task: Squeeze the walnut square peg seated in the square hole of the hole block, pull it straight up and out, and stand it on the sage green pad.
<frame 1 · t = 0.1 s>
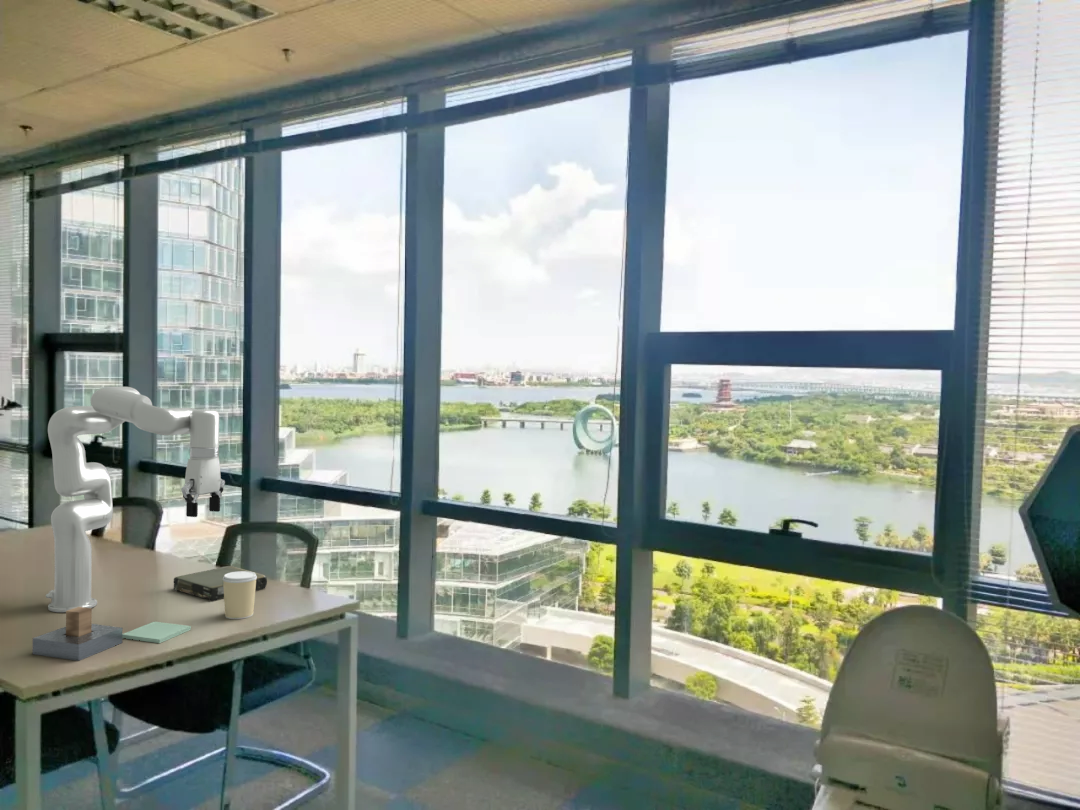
hand: (203, 513, 226), 31 cm above the table, tool pointing down, fingers open, 9 cm apart
green pad: (156, 633, 217), on the table
network switch: (220, 591, 263), on the table
walnut peg: (78, 629, 204), in the hole block
hole block: (78, 648, 204), on the table
coffee cup: (239, 615, 236), on the table
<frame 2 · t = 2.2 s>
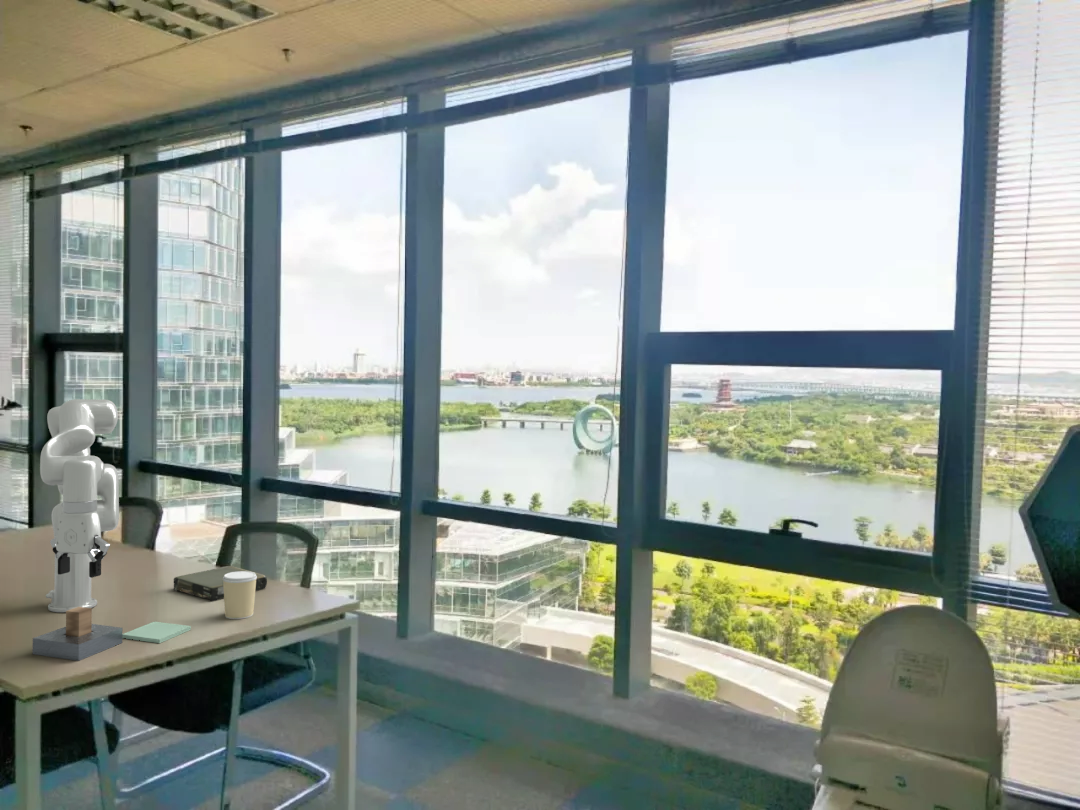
hand: (79, 574, 203), 19 cm above the table, tool pointing down, fingers open, 9 cm apart
nothing on the table moved.
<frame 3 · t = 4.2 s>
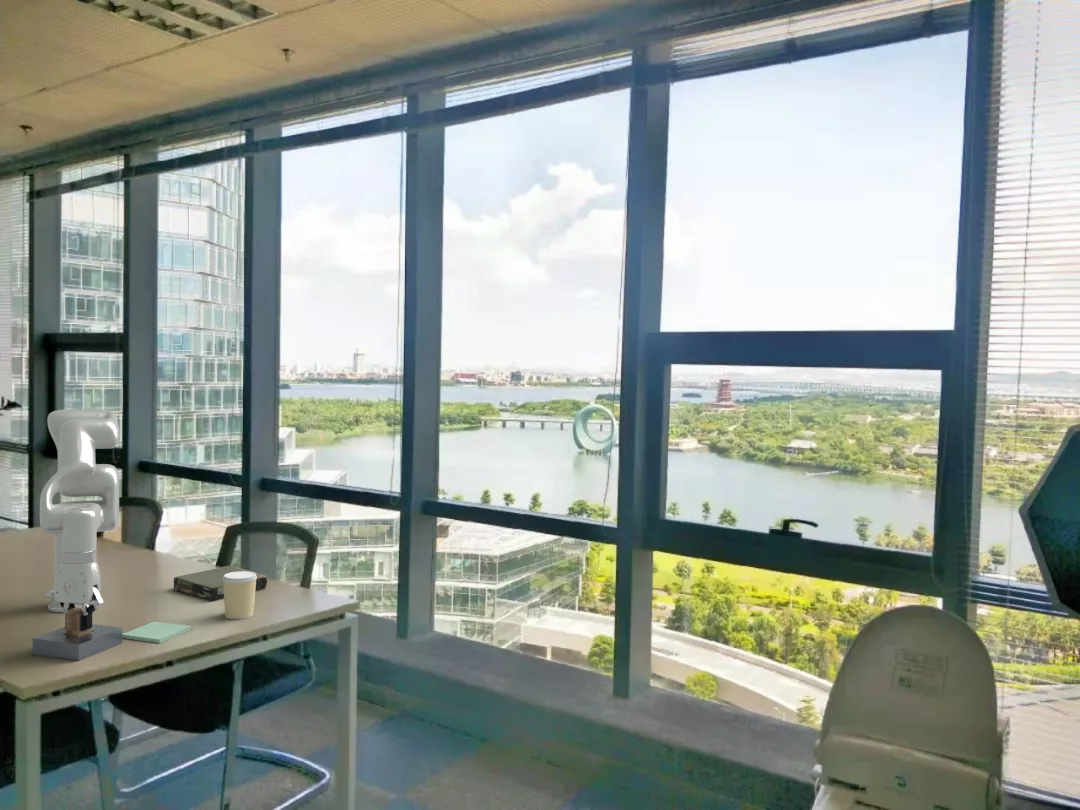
hand: (78, 627, 204), 5 cm above the table, tool pointing down, fingers closed on walnut peg, 4 cm apart
walnut peg: (78, 629, 204), in the hole block, touching gripper
everything else where it was.
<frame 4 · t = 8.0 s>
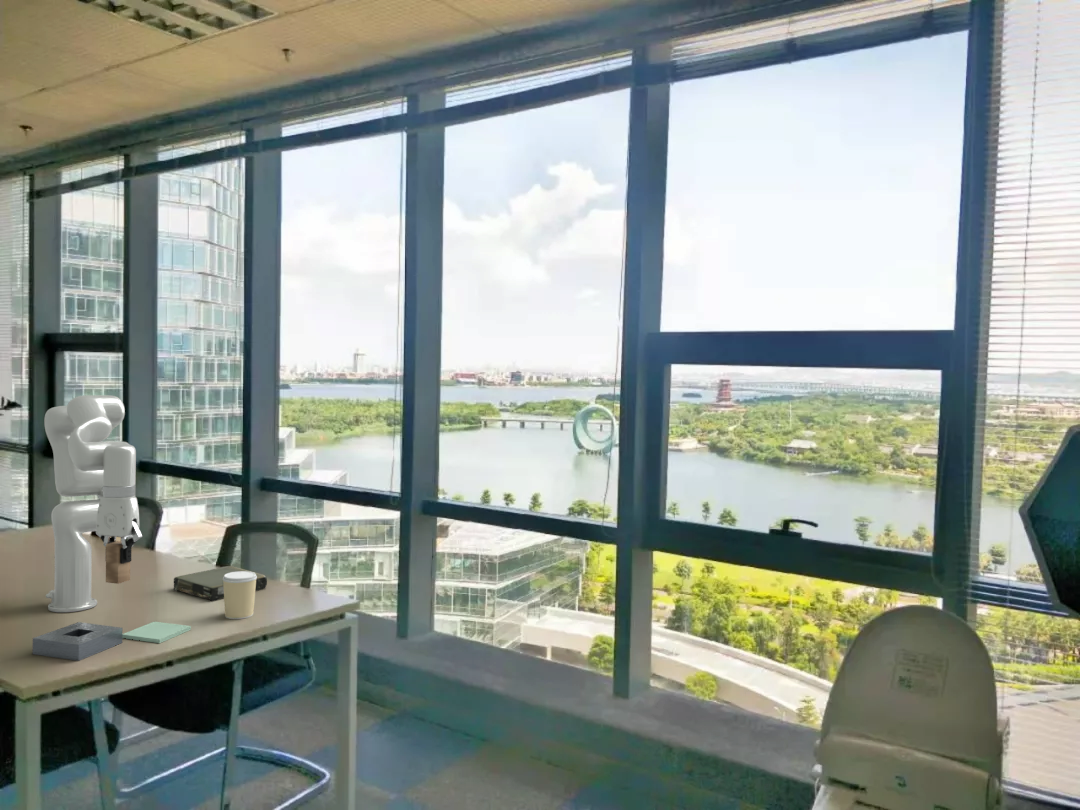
hand: (118, 560, 210), 21 cm above the table, tool pointing down, fingers closed on walnut peg, 4 cm apart
walnut peg: (118, 562, 210), point 21 cm above the table, touching gripper
everything else where it was.
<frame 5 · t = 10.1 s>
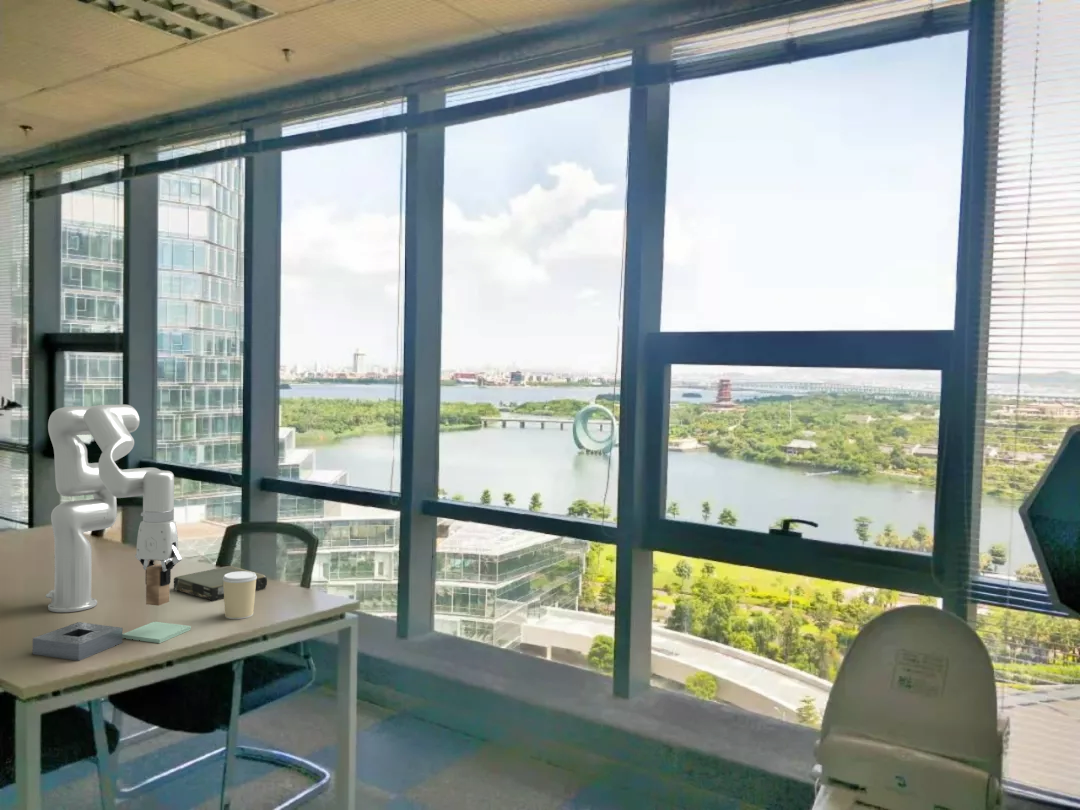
hand: (158, 583, 216), 14 cm above the table, tool pointing down, fingers closed on walnut peg, 4 cm apart
walnut peg: (157, 584, 216), point 14 cm above the table, touching gripper
everything else where it was.
when the fingers open (8 cm above the table, at t = 11.9 s): walnut peg drops 1 cm, resting on green pad.
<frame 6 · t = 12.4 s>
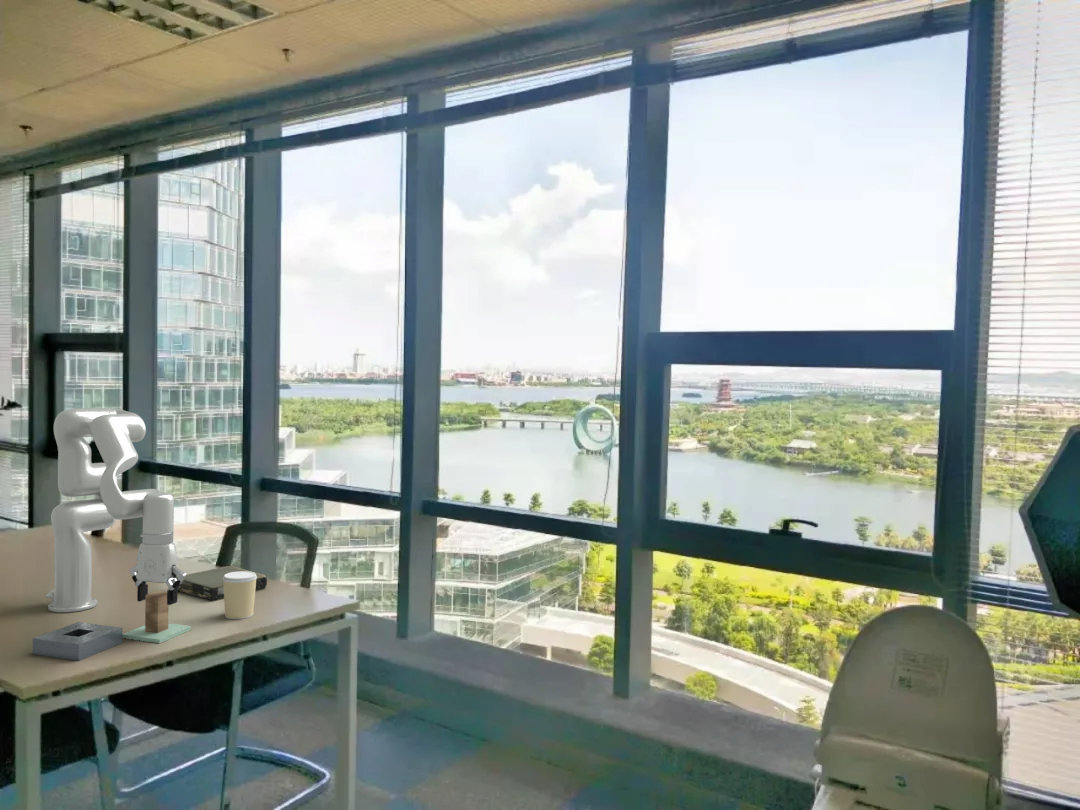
hand: (157, 601, 217), 9 cm above the table, tool pointing down, fingers open, 9 cm apart
walnut peg: (156, 611, 217), on the green pad, point 6 cm above the table
everything else where it was.
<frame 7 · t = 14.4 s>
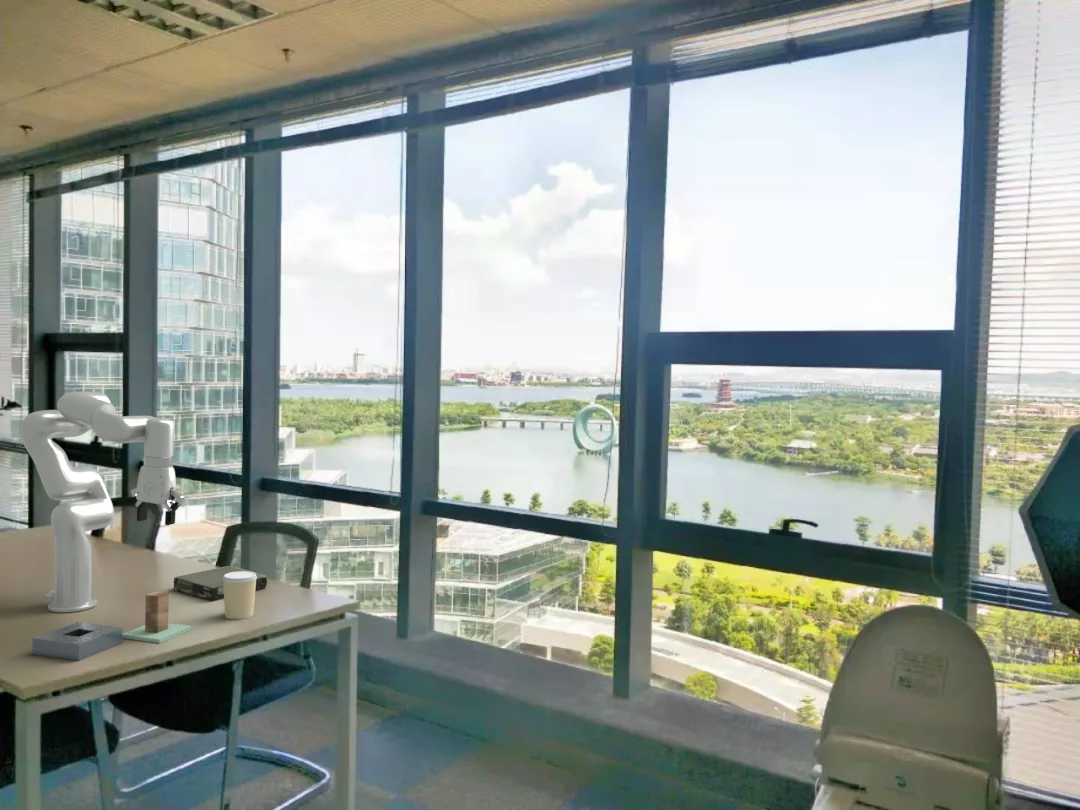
hand: (155, 522, 227), 28 cm above the table, tool pointing down, fingers open, 9 cm apart
nothing on the table moved.
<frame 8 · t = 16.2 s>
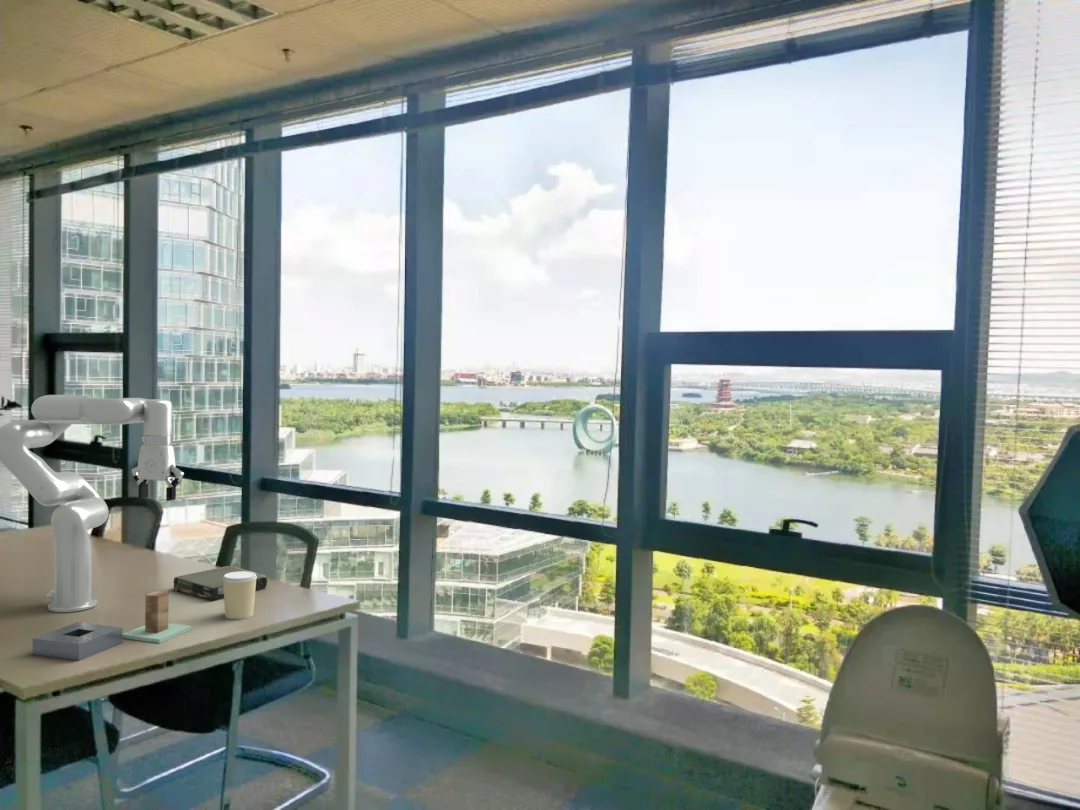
hand: (157, 499, 236), 33 cm above the table, tool pointing down, fingers open, 9 cm apart
nothing on the table moved.
at the end: walnut peg inside the target area on the green pad (0.0 cm from its centre), point 6.0 cm above the green pad's base; walnut peg tilted 0°; the gripper is holding nothing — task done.
